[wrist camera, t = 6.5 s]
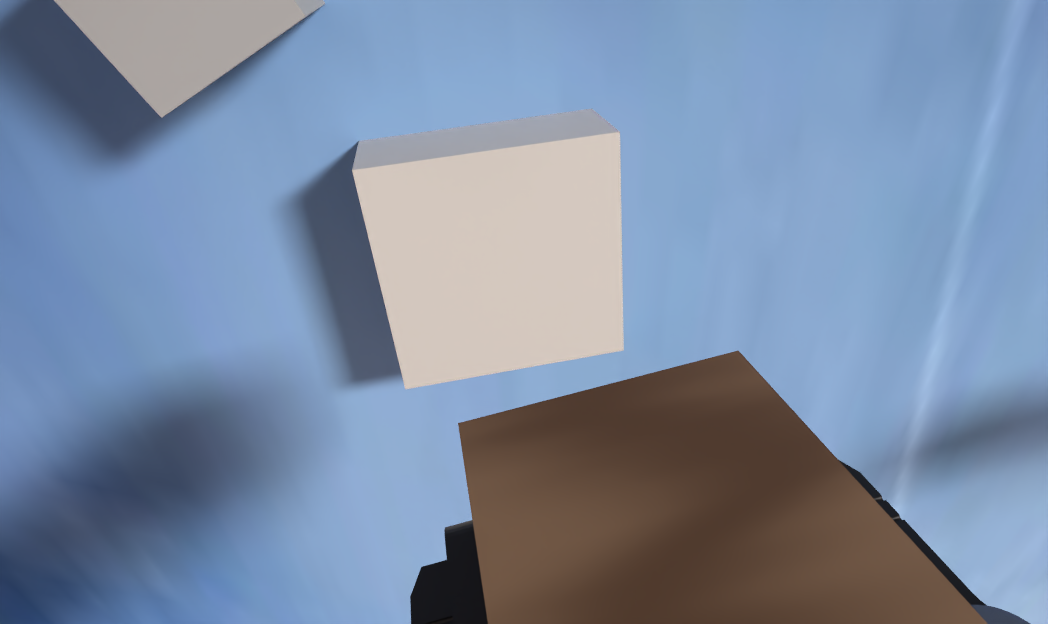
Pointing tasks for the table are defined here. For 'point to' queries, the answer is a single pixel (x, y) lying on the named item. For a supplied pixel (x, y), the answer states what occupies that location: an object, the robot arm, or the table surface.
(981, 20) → the table surface
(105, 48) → the grey block
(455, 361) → the base block
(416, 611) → the robot arm
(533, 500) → the walnut cube
